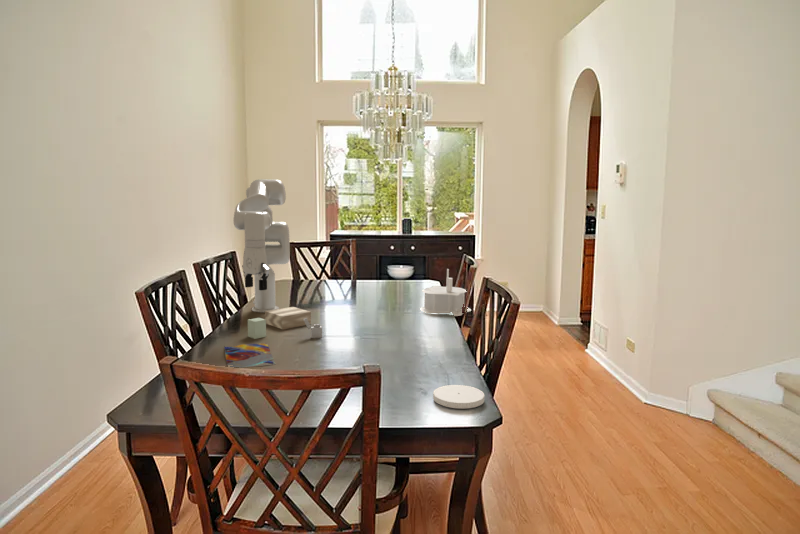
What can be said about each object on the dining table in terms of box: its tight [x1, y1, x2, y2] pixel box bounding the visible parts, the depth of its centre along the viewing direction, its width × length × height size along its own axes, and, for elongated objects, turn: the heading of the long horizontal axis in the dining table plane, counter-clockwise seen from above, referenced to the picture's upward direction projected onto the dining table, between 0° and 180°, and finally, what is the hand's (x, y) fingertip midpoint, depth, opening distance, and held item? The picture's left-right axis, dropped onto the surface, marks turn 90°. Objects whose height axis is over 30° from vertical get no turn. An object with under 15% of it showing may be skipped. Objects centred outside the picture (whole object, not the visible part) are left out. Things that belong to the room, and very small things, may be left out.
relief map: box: [223, 342, 276, 369], centre depth 193 cm, size 25×15×2 cm, turn 19°
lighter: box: [303, 318, 323, 339], centre depth 217 cm, size 7×2×8 cm, turn 104°
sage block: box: [247, 317, 267, 340], centre depth 217 cm, size 5×5×7 cm
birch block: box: [264, 306, 312, 330], centre depth 239 cm, size 14×14×6 cm
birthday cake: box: [419, 268, 472, 317], centre depth 269 cm, size 30×29×22 cm
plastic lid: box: [432, 384, 485, 410], centre depth 153 cm, size 14×14×2 cm
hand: (256, 288), depth 215 cm, fingers open, 9 cm apart
